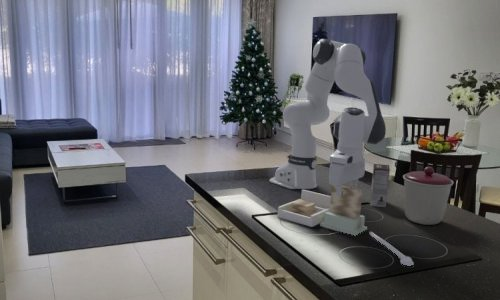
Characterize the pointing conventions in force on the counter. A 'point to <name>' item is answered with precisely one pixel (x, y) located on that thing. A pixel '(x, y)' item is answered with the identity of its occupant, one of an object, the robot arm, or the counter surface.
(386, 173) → the coffee box
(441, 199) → the canister
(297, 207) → the offcut stack
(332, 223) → the holder
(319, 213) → the rack
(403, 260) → the white ladle
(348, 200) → the birch panel
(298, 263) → the counter surface
